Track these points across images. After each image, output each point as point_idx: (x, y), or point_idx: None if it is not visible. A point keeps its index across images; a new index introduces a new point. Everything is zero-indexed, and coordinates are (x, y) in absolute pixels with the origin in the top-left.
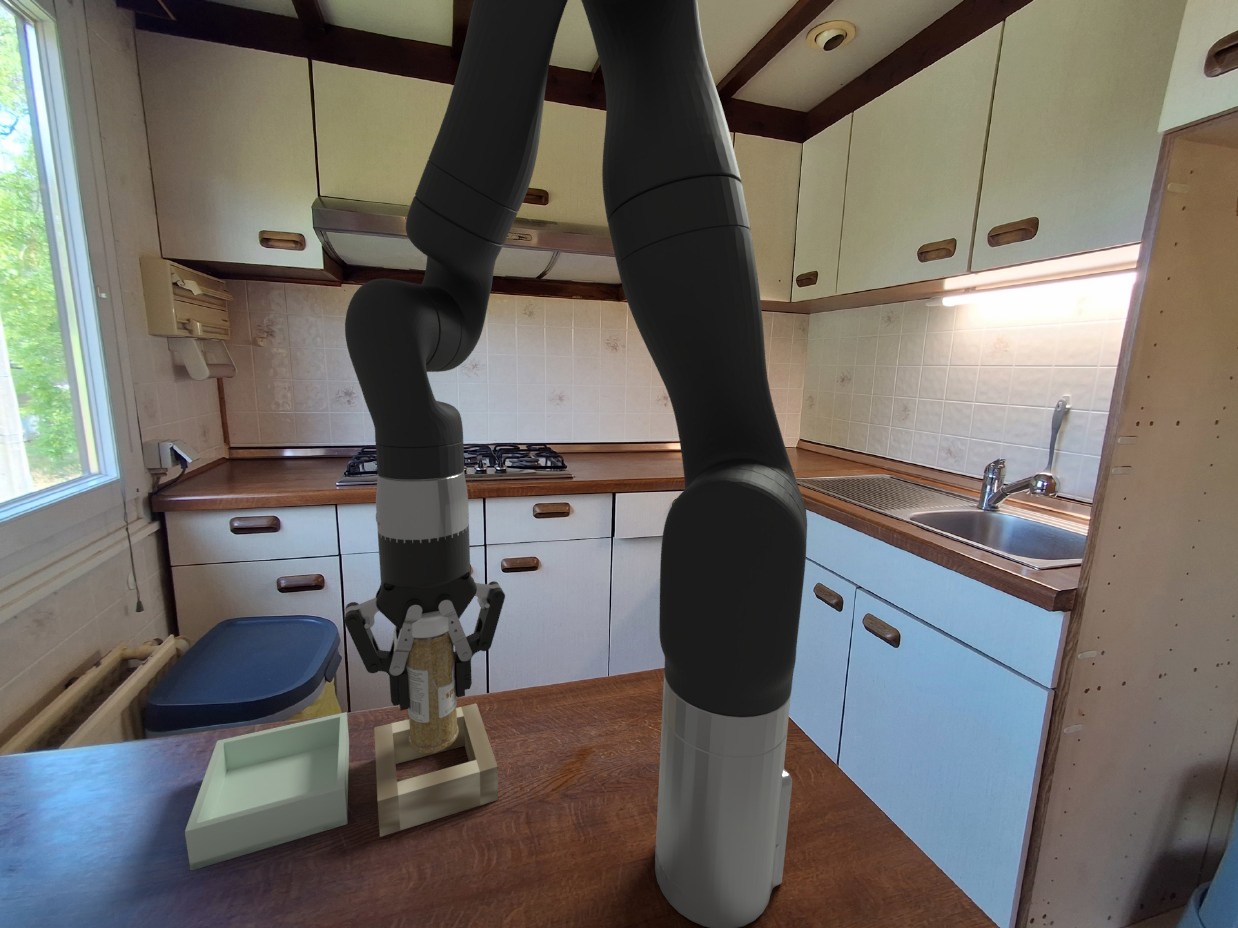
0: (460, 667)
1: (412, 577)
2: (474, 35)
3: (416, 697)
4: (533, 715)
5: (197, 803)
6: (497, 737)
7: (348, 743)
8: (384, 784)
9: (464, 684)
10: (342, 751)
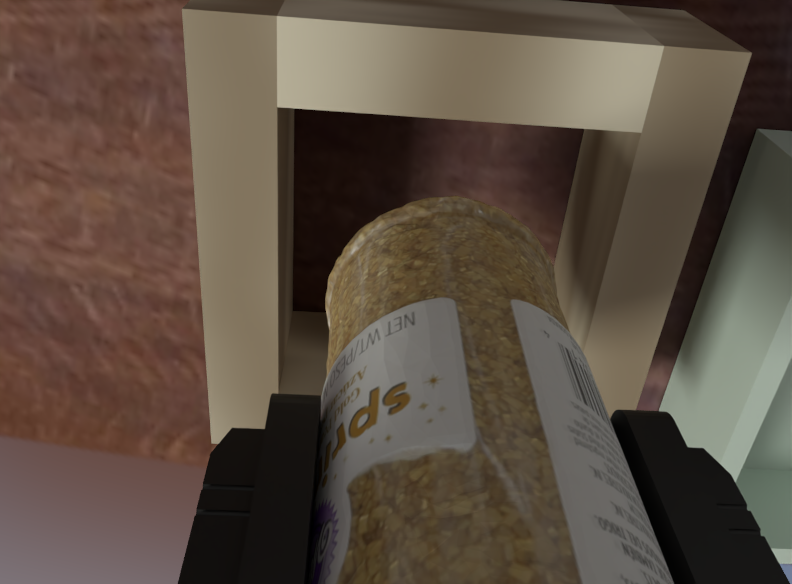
0: (270, 574)
1: None
2: None
3: (607, 439)
4: (2, 354)
5: None
6: (163, 301)
7: None
8: (692, 140)
9: (262, 450)
10: (764, 385)
